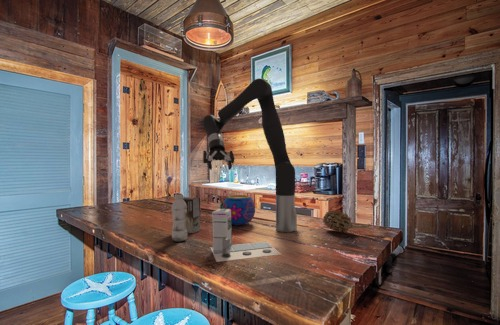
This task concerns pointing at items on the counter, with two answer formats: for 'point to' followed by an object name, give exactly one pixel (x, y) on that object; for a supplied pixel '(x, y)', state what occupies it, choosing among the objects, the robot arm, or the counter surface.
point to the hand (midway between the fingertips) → (220, 168)
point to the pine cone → (340, 221)
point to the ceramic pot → (239, 208)
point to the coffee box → (192, 214)
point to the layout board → (247, 251)
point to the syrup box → (221, 227)
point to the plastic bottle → (179, 218)
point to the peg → (226, 247)
